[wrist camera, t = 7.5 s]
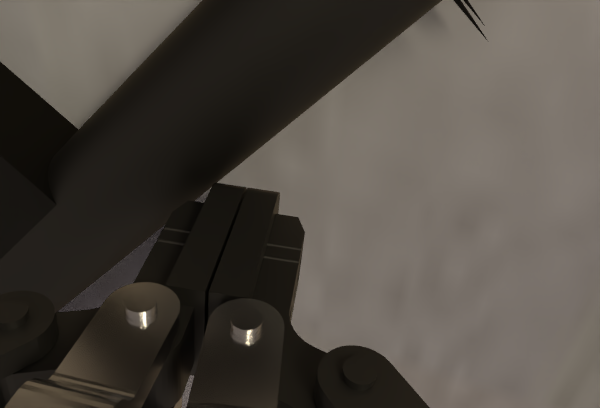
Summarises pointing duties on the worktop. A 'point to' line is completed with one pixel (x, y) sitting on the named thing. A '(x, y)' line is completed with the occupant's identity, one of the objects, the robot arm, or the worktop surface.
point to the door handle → (169, 129)
